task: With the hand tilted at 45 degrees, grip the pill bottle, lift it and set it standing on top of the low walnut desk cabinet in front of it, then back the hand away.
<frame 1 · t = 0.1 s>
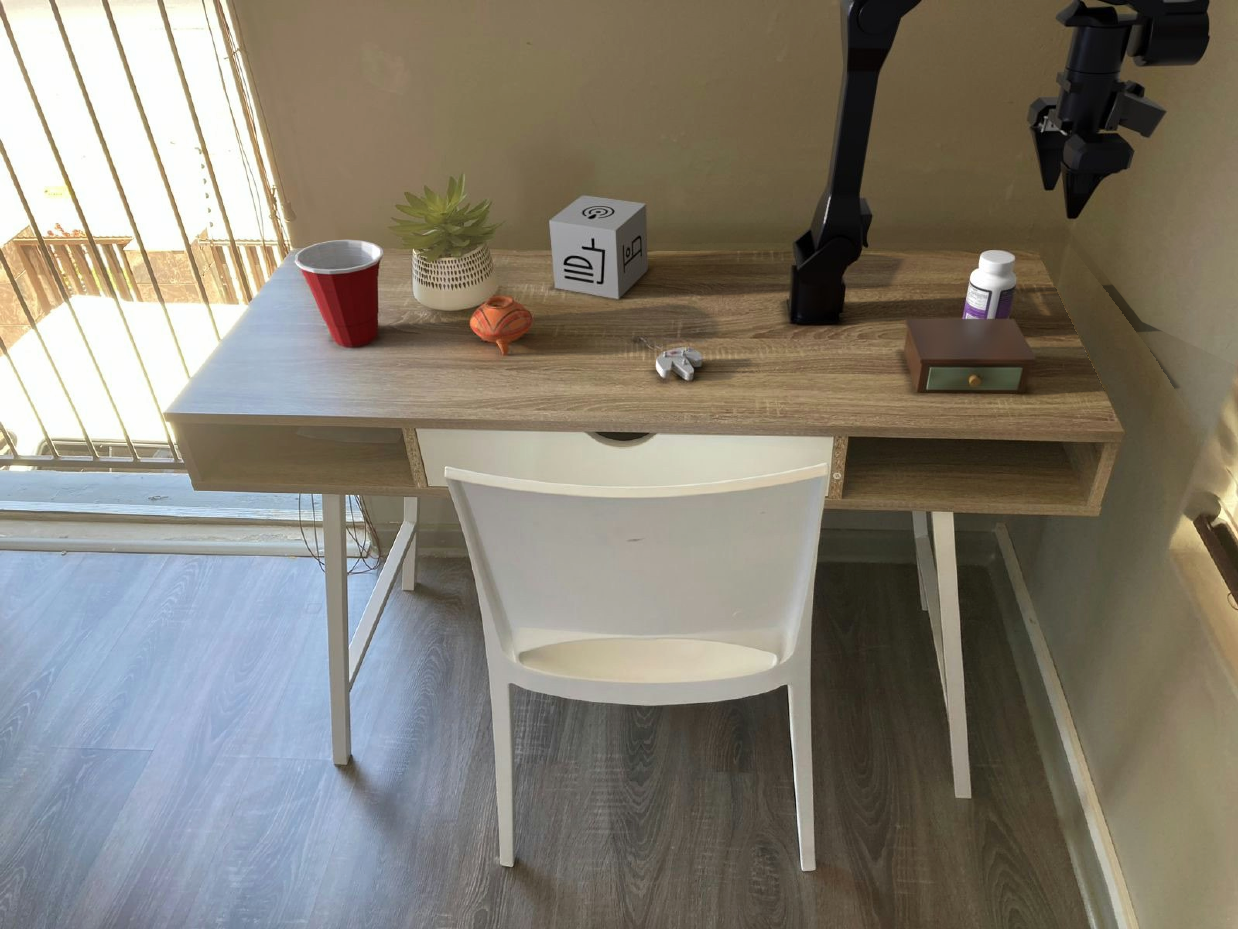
hand: (1060, 203, 114), 15 cm above the table, tool pointing down, fingers open, 9 cm apart
game controller: (666, 360, 117), on the table
icon cube: (602, 280, 136), on the table
pill bottle: (982, 329, 120), on the table
plastic cup: (358, 337, 125), on the table
cabinet: (961, 372, 112), on the table
pot: (504, 345, 122), on the table
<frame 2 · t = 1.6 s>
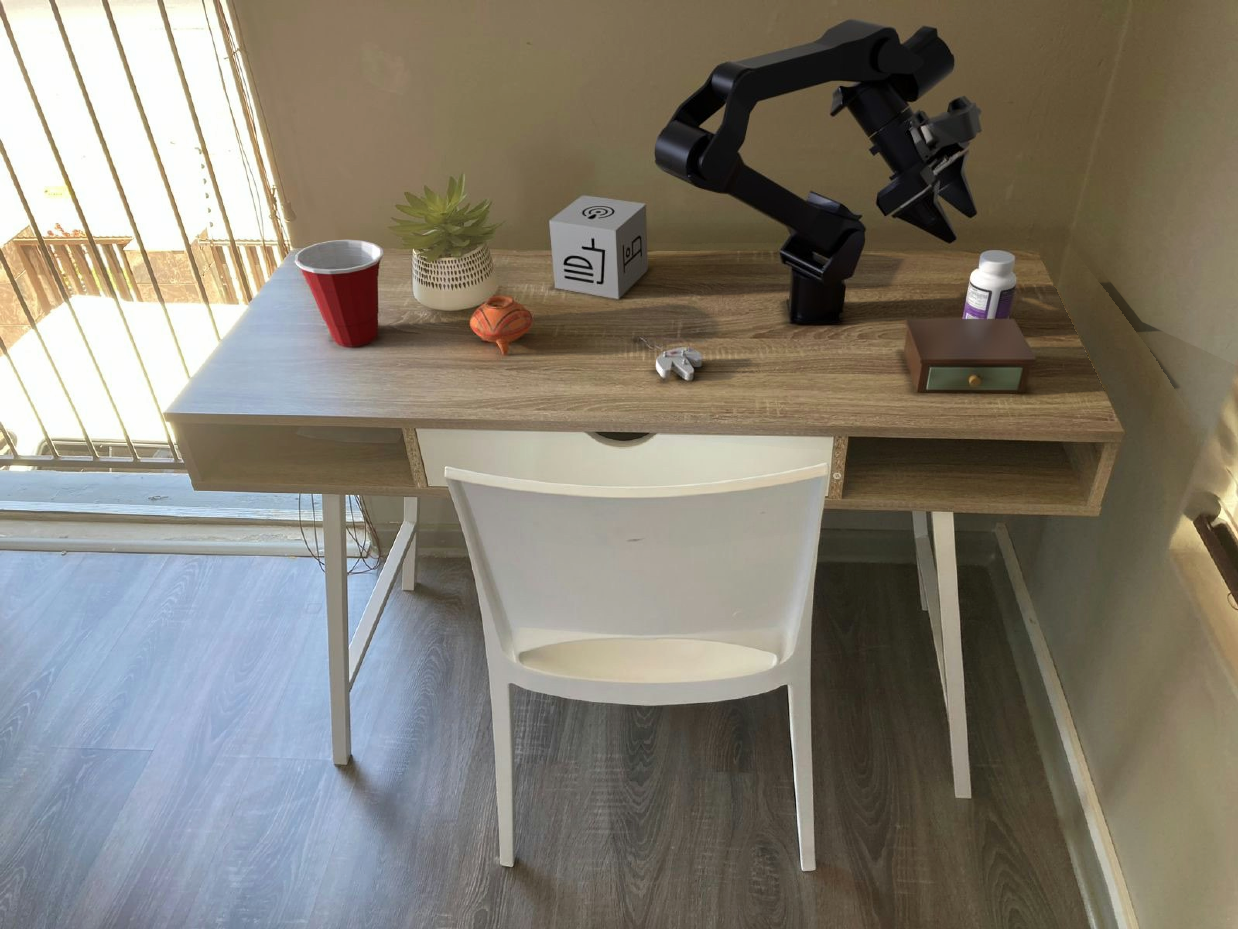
hand: (964, 228, 114), 13 cm above the table, tool tilted 45°, fingers open, 9 cm apart
nothing on the table moved.
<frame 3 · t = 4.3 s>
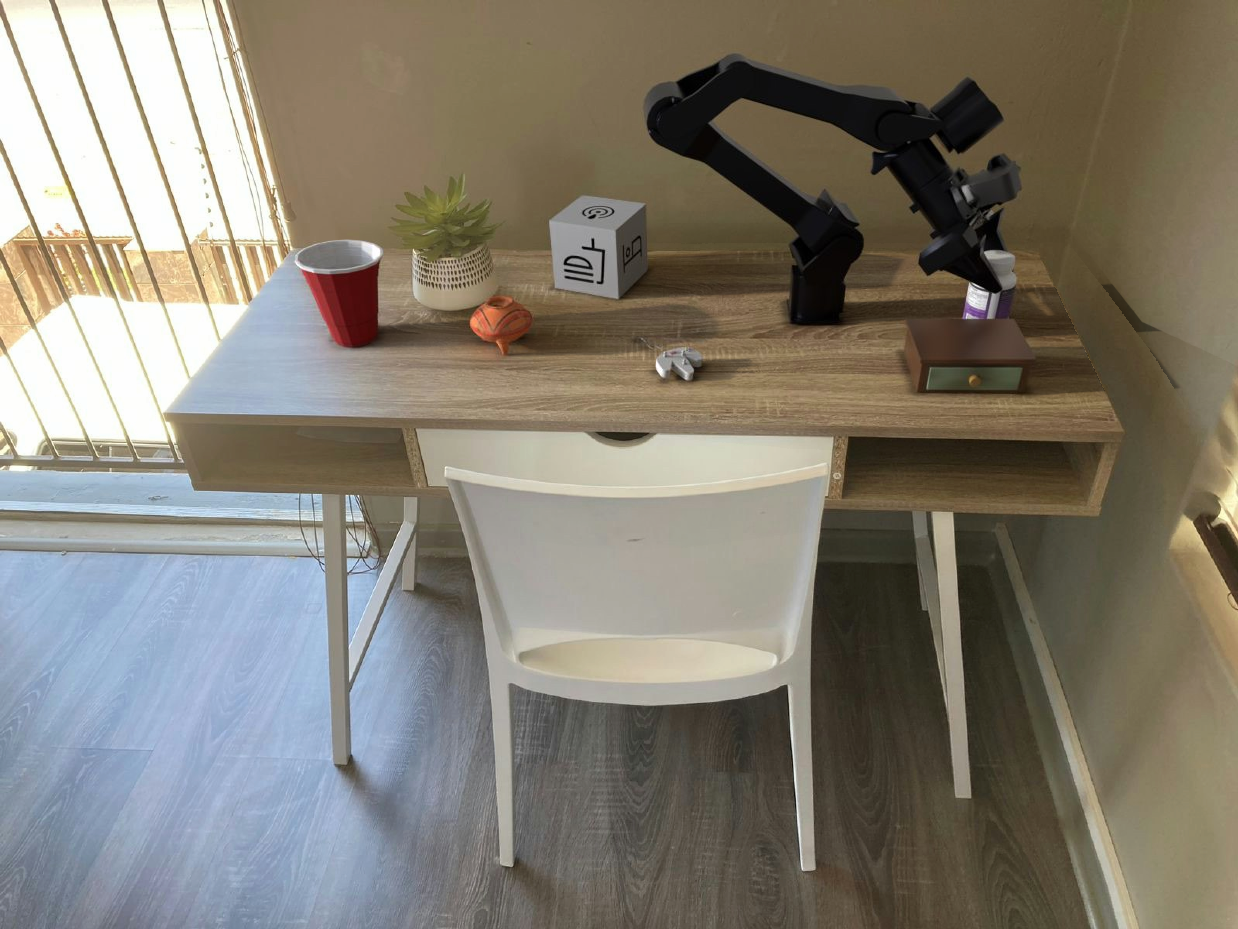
hand: (1004, 282, 115), 7 cm above the table, tool tilted 45°, fingers closed on pill bottle, 5 cm apart
pill bottle: (982, 329, 120), on the table, touching gripper
everything else where it was.
when the fingers open (11 cm above the table, at t = 9.1 s): pill bottle stays where it is, resting on cabinet.
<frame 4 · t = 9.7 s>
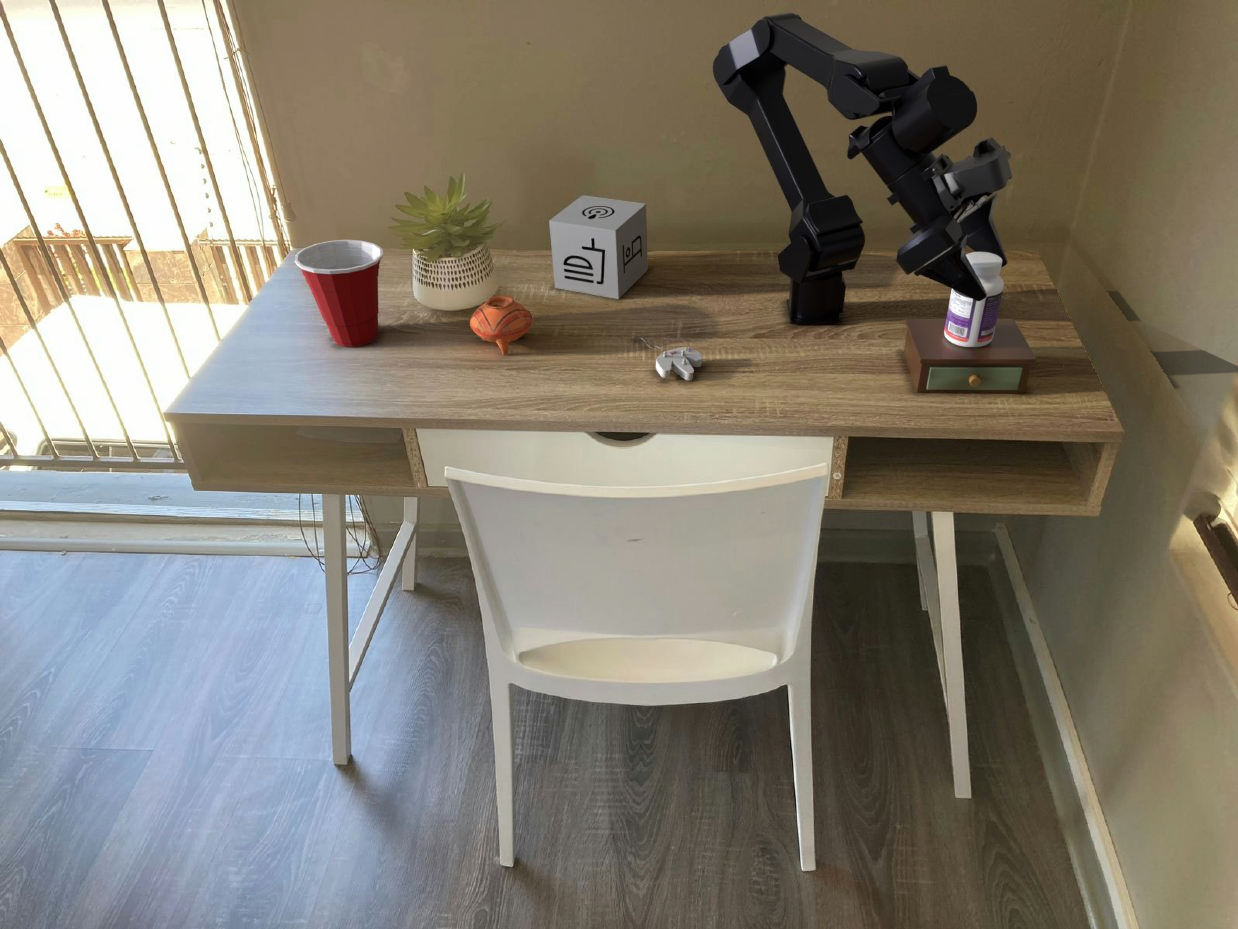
hand: (993, 281, 104), 12 cm above the table, tool tilted 45°, fingers open, 9 cm apart
pill bottle: (967, 338, 109), point 4 cm above the table, touching cabinet
everything else where it was.
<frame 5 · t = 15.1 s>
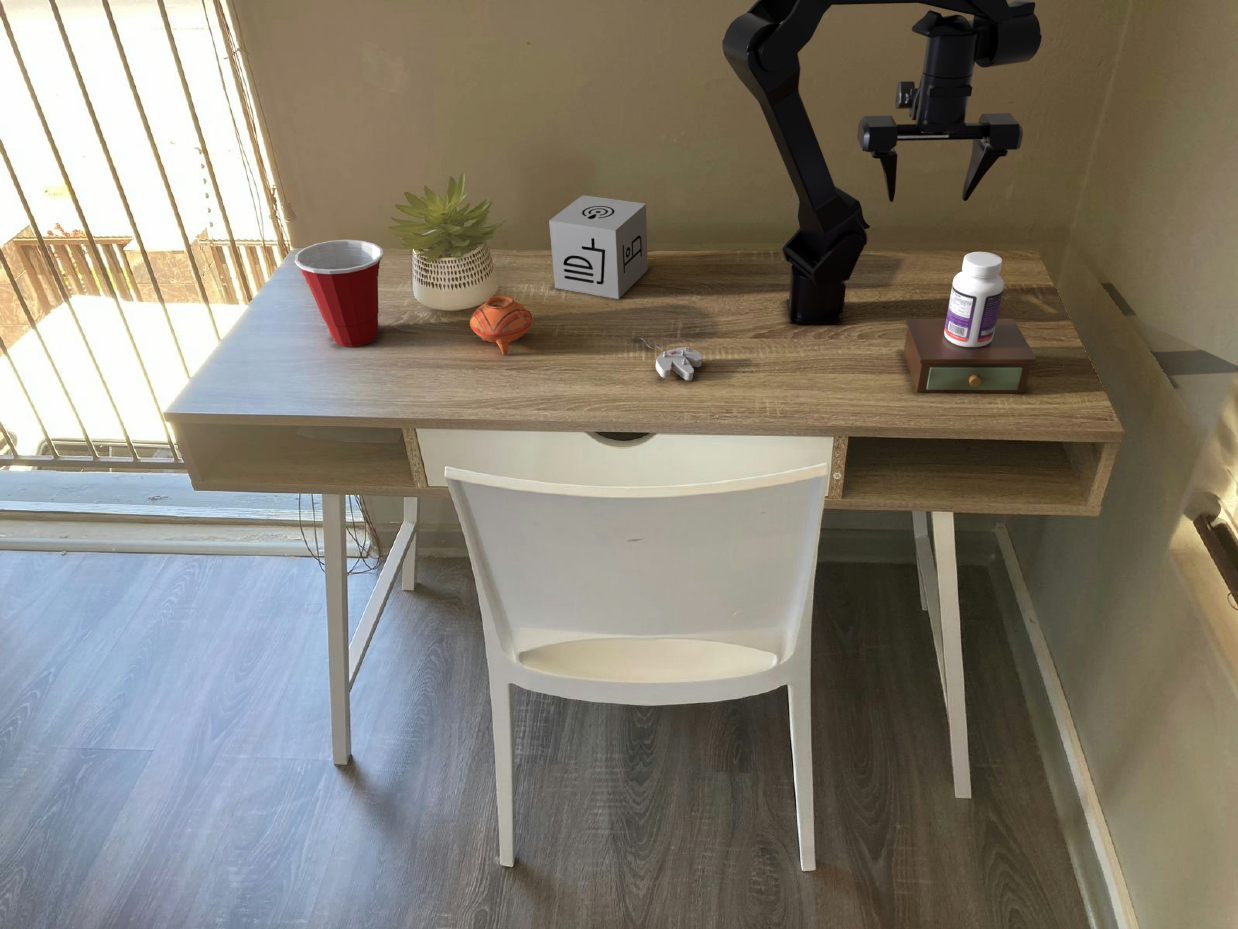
hand: (927, 200, 121), 13 cm above the table, tool pointing down, fingers open, 9 cm apart
nothing on the table moved.
at the end: pill bottle inside the target area on the cabinet (0.2 cm from its centre), point 4.4 cm above the cabinet's base; pill bottle tilted 0°; the gripper is holding nothing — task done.
